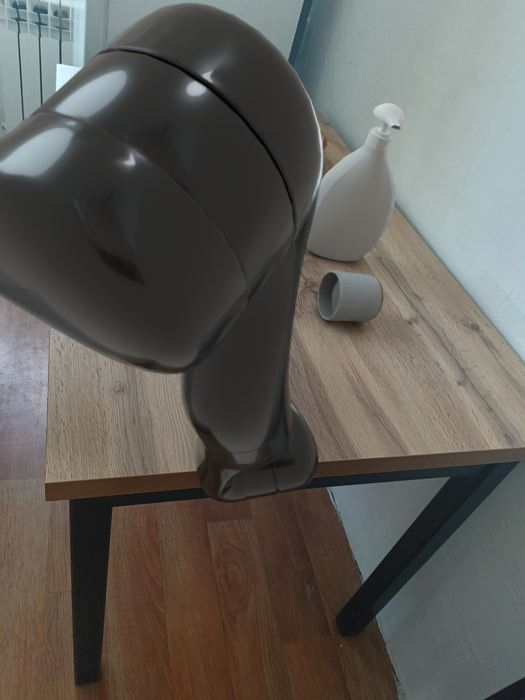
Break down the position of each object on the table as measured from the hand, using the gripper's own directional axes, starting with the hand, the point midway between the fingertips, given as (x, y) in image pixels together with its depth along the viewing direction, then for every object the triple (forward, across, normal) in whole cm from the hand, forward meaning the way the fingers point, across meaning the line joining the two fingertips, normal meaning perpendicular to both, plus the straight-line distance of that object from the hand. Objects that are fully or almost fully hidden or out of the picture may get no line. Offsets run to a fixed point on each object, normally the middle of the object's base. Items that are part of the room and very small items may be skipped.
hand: (221, 239), depth 69 cm
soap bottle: (+18, -25, +13) cm, 33 cm away
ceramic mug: (+4, -22, +13) cm, 26 cm away
